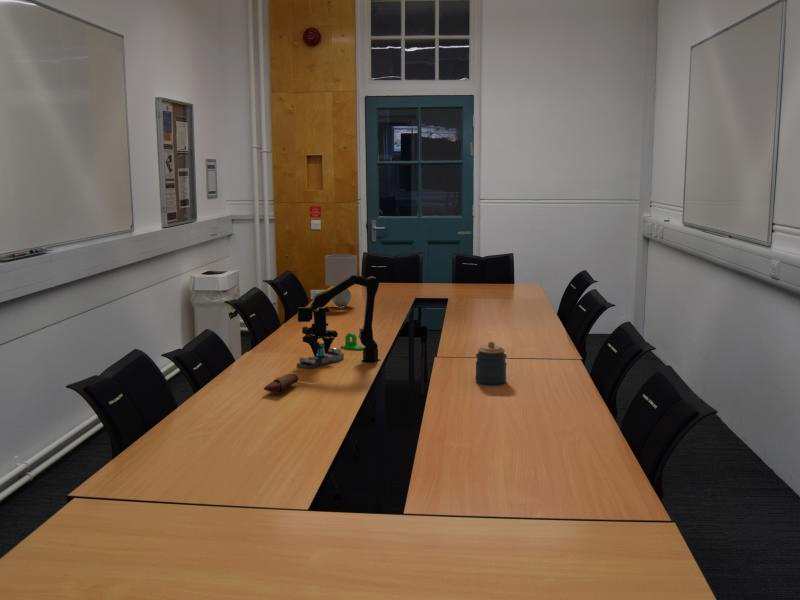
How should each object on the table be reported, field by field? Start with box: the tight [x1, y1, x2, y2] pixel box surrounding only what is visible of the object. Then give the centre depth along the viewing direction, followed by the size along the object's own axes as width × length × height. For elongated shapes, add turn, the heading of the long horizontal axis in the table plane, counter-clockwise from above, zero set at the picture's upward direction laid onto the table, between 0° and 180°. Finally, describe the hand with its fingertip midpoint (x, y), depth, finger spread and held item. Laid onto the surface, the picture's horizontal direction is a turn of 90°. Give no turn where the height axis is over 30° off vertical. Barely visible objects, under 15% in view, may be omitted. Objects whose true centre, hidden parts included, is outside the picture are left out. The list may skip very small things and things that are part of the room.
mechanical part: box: [340, 332, 365, 351], centre depth 403 cm, size 12×6×8 cm, turn 58°
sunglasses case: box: [263, 373, 299, 395], centre depth 330 cm, size 18×7×7 cm
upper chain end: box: [307, 347, 345, 363], centre depth 378 cm, size 8×16×5 cm, turn 145°
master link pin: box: [317, 342, 325, 358], centre depth 374 cm, size 4×4×9 cm
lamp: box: [324, 254, 358, 307], centre depth 518 cm, size 20×20×35 cm
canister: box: [474, 341, 508, 387], centre depth 338 cm, size 13×13×18 cm
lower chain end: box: [296, 357, 334, 370], centre depth 371 cm, size 8×16×4 cm, turn 145°
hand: (320, 354), depth 374 cm, fingers open, 7 cm apart
